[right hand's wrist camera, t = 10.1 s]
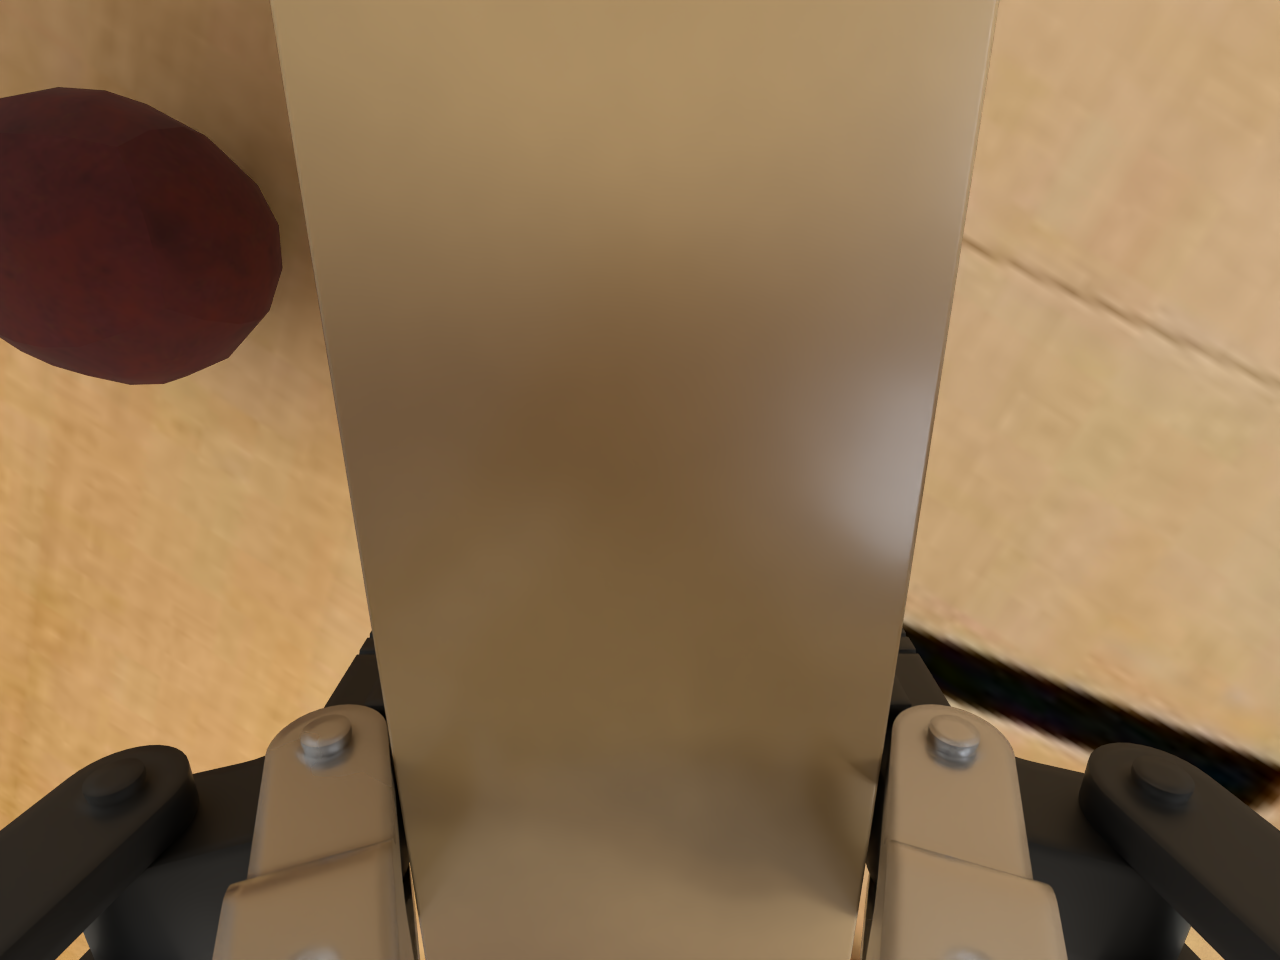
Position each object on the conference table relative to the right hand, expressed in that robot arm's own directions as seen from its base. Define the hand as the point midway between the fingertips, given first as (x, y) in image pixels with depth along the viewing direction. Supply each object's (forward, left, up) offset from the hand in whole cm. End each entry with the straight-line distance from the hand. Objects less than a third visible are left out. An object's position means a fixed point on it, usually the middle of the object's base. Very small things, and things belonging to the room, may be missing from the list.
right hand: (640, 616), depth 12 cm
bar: (+9, 0, -5) cm, 10 cm away
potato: (+5, +14, -13) cm, 20 cm away
